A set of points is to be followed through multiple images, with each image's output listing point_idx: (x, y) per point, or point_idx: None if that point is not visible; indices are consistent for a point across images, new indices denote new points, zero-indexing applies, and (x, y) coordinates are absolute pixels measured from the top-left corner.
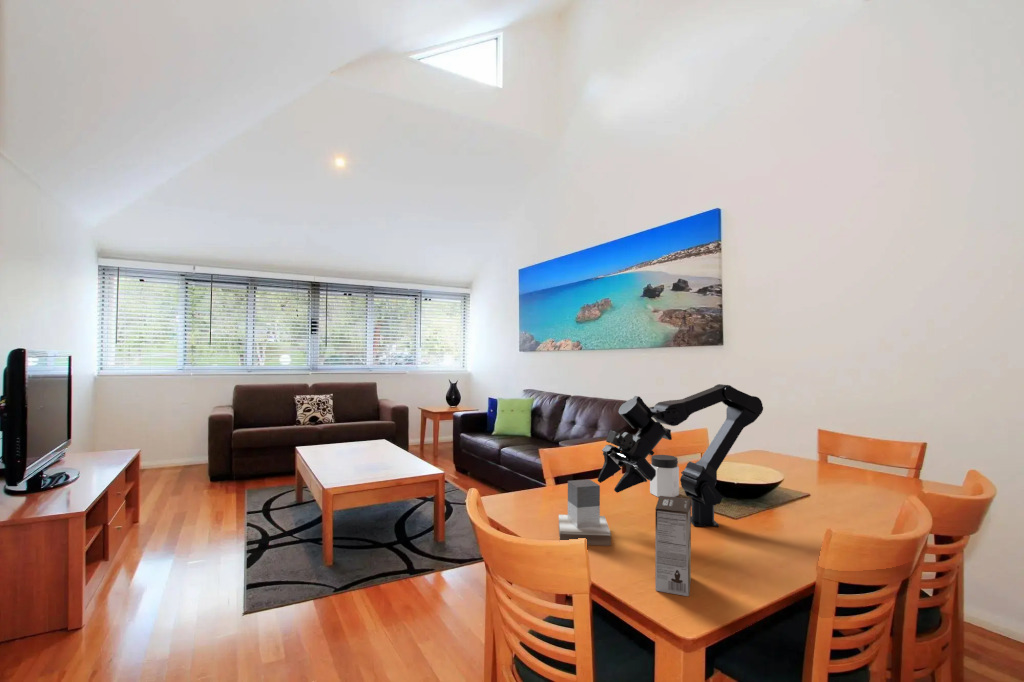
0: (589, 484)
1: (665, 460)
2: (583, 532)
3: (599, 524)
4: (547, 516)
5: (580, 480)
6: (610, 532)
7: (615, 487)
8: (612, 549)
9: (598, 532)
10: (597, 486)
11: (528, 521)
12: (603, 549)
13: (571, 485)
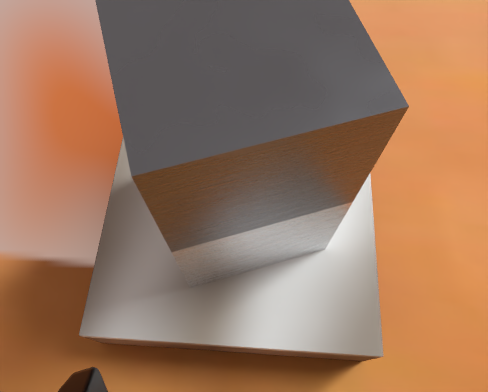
0: (180, 79)
1: None
2: (112, 191)
3: (189, 284)
4: (469, 104)
5: (339, 22)
6: (85, 335)
7: (75, 386)
8: (57, 343)
9: (96, 265)
10: (128, 154)
11: (387, 37)
12: (64, 297)
13: None
